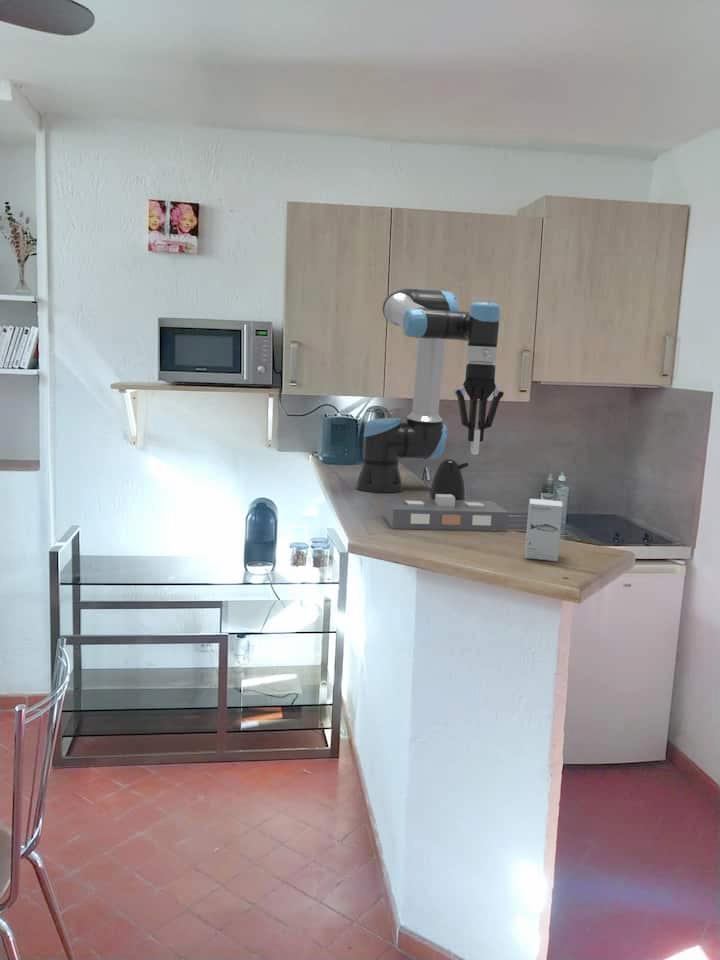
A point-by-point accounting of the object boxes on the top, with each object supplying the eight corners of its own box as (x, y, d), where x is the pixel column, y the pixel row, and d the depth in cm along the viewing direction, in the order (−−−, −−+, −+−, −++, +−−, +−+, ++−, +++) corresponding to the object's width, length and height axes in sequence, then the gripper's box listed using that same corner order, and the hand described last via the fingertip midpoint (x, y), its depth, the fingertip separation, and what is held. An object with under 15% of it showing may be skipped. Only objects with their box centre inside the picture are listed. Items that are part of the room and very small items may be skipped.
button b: (434, 509, 211) (435, 494, 211) (450, 510, 212) (451, 494, 211) (437, 513, 207) (438, 496, 206) (454, 513, 207) (455, 497, 207)
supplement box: (523, 559, 175) (528, 502, 174) (524, 551, 183) (529, 497, 181) (558, 562, 174) (563, 505, 172) (557, 554, 181) (562, 500, 179)
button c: (463, 517, 212) (464, 502, 212) (479, 518, 213) (480, 502, 212) (467, 521, 208) (468, 505, 208) (483, 521, 209) (484, 505, 208)
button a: (404, 516, 211) (405, 500, 210) (420, 516, 211) (421, 501, 210) (407, 519, 206) (408, 503, 206) (423, 520, 207) (424, 504, 206)
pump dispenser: (463, 515, 222) (467, 462, 220) (427, 512, 224) (430, 459, 222) (466, 509, 232) (470, 458, 230) (431, 506, 234) (434, 455, 232)
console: (383, 516, 216) (384, 498, 215) (490, 518, 219) (491, 501, 219) (392, 529, 200) (393, 509, 199) (507, 531, 203) (509, 512, 203)
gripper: (460, 362, 201) (453, 454, 205) (509, 365, 202) (502, 456, 206) (453, 362, 208) (447, 451, 212) (501, 364, 210) (494, 452, 213)
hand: (474, 453), depth 209 cm, fingers closed
